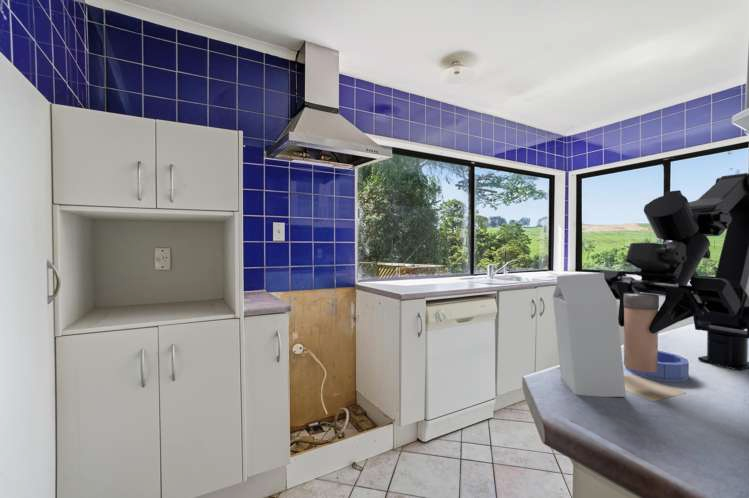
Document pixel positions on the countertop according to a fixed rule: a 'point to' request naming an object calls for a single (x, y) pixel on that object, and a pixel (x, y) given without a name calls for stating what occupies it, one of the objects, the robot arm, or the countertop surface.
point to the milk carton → (588, 336)
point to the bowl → (667, 368)
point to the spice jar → (640, 331)
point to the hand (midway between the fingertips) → (635, 328)
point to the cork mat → (649, 388)
